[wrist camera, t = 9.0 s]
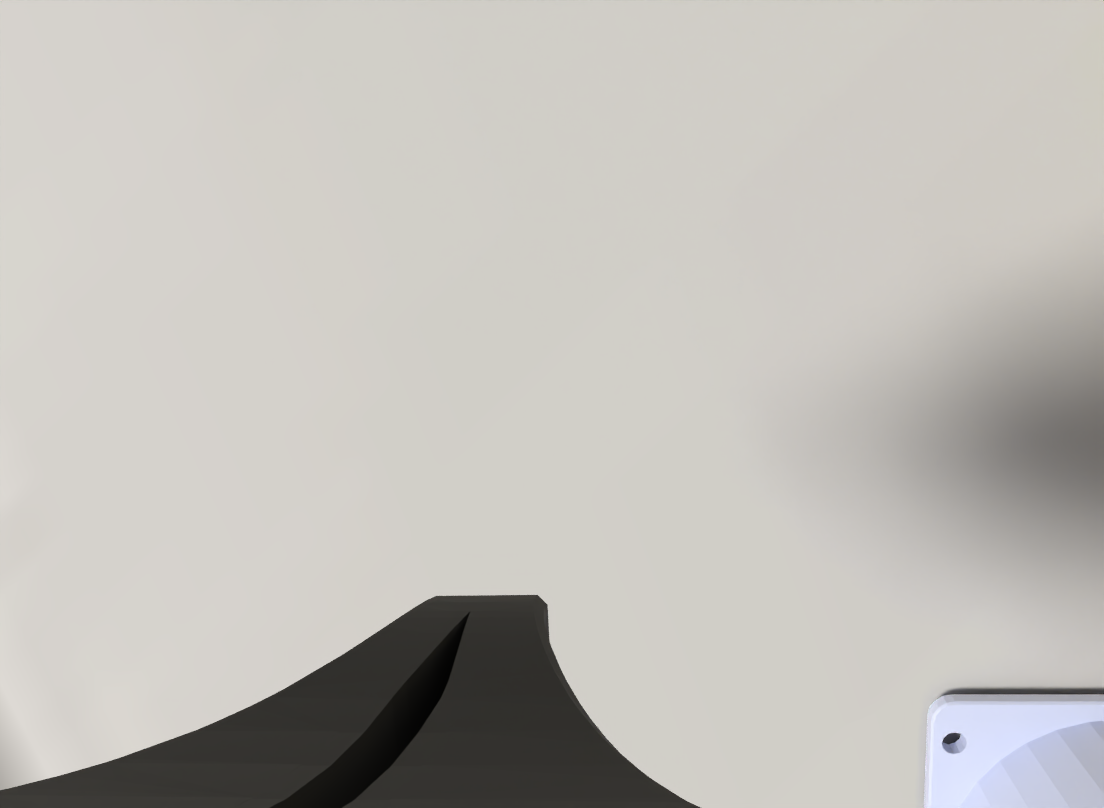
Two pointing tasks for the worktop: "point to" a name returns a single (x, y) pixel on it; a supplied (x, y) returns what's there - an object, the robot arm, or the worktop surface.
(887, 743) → the worktop surface
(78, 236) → the worktop surface
